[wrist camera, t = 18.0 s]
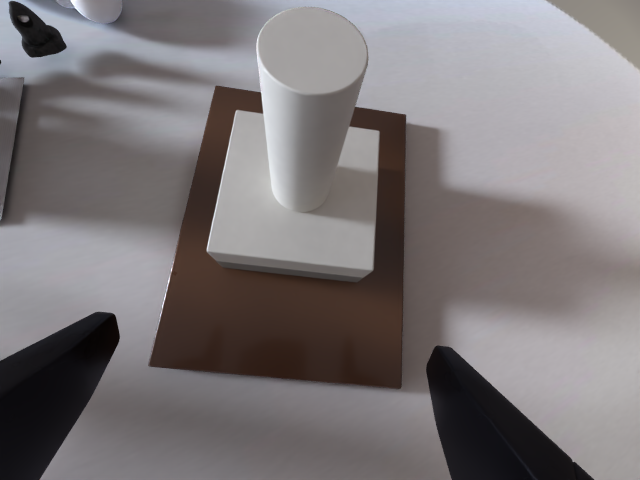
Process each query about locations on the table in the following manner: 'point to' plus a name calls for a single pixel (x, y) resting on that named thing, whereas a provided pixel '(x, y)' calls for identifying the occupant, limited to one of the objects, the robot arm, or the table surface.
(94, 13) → the chess pawn
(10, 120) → the stacked layers on plate
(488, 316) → the table surface
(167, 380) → the table surface
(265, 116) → the white peg on base
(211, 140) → the board
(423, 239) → the table surface
